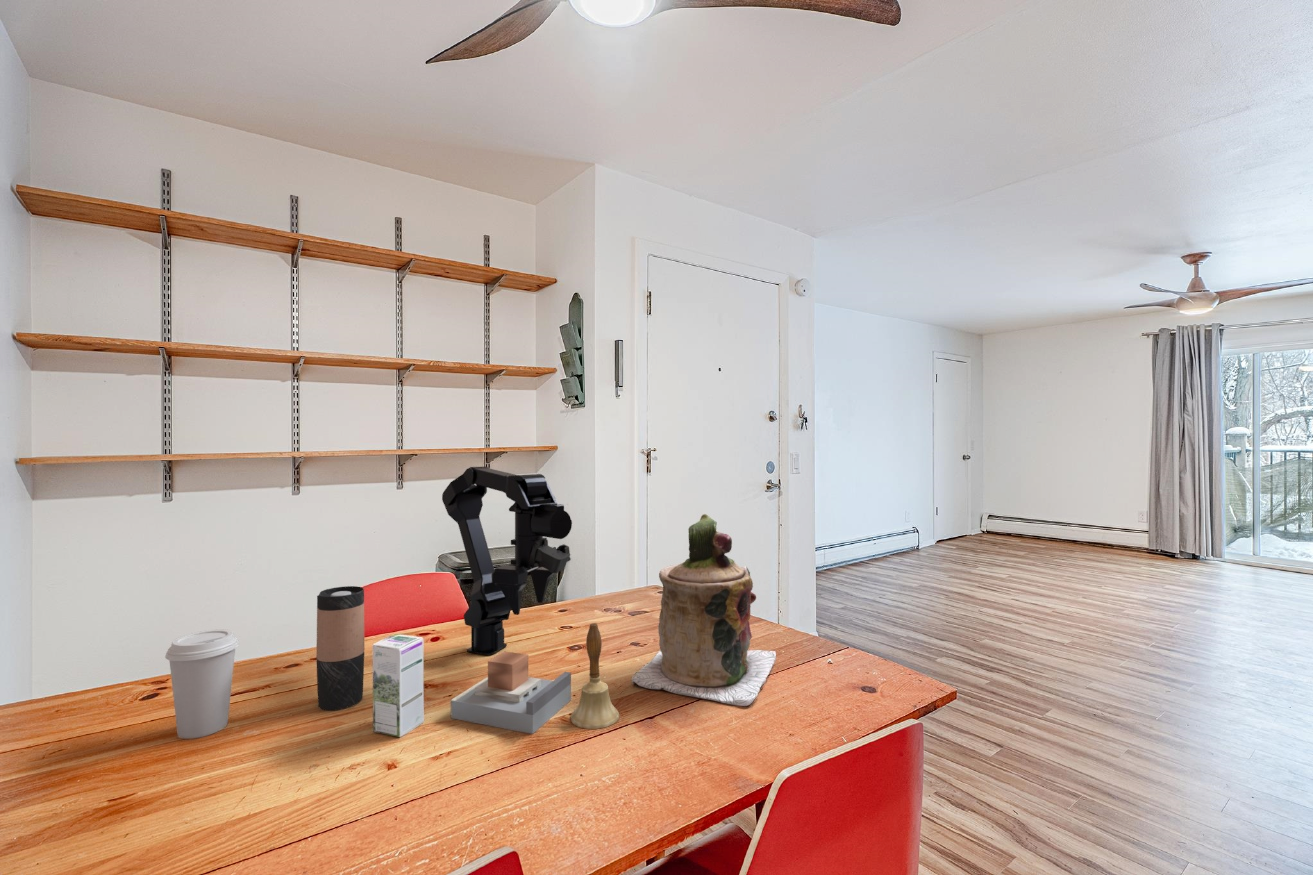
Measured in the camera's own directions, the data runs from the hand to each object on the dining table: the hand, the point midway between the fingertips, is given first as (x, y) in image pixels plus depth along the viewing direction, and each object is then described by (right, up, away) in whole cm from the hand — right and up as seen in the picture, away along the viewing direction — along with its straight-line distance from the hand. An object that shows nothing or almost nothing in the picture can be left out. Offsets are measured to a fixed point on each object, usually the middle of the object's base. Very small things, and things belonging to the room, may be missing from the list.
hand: (528, 608), depth 122 cm
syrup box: (-16, -12, -26) cm, 33 cm away
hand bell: (+16, -12, -23) cm, 31 cm away
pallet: (+1, -9, -19) cm, 21 cm away
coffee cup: (-48, -12, -27) cm, 56 cm away
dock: (+1, -12, -20) cm, 23 cm away
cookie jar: (+37, -12, -4) cm, 39 cm away
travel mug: (-30, -12, -17) cm, 37 cm away
